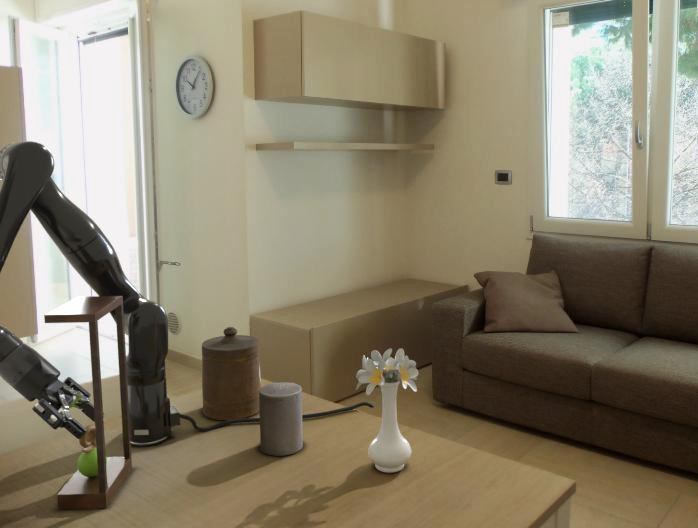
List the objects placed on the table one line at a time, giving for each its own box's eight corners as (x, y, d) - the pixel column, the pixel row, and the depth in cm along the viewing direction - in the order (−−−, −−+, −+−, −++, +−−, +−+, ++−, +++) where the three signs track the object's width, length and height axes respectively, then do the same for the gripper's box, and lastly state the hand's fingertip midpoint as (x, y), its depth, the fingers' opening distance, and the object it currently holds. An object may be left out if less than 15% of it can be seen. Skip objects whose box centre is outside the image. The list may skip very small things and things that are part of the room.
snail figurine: (117, 469, 139) (113, 412, 137) (93, 483, 133) (89, 424, 131) (95, 465, 141) (92, 409, 139) (71, 479, 135) (67, 420, 133)
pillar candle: (251, 452, 153) (249, 387, 152) (274, 435, 162) (273, 374, 160) (289, 459, 150) (288, 393, 148) (311, 441, 159) (309, 379, 157)
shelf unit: (57, 509, 129) (44, 315, 124) (88, 470, 145) (77, 296, 140) (106, 508, 130) (94, 314, 125) (132, 469, 145) (122, 295, 141)
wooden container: (272, 404, 182) (270, 323, 180) (238, 424, 169) (235, 337, 166) (226, 396, 188) (223, 318, 186) (190, 415, 175) (187, 331, 172)
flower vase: (419, 447, 155) (419, 340, 152) (417, 486, 137) (417, 365, 134) (362, 445, 157) (361, 339, 153) (352, 484, 138) (351, 364, 135)
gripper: (24, 369, 126) (91, 427, 128) (56, 348, 140) (116, 400, 142) (-4, 398, 127) (64, 455, 129) (31, 373, 141) (91, 425, 143)
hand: (91, 426), depth 136 cm, fingers open, 8 cm apart
